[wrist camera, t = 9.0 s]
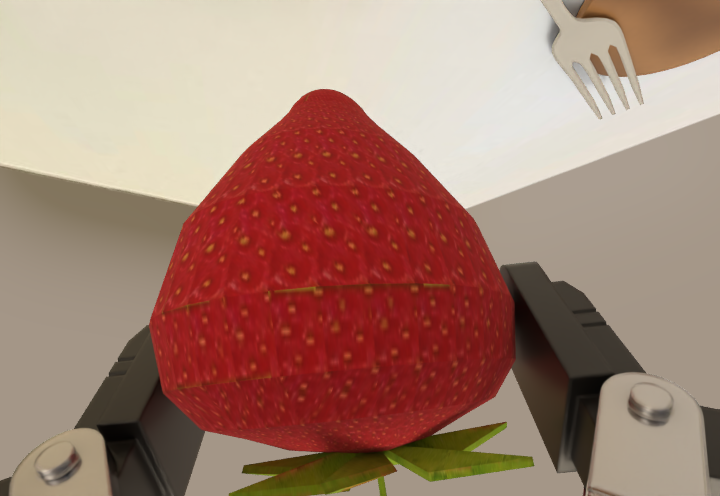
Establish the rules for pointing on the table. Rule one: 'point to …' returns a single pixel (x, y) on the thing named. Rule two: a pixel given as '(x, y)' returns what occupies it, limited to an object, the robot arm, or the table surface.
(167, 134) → the table surface
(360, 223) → the strawberry
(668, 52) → the copper coaster
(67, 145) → the table surface
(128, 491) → the robot arm
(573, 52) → the fork
